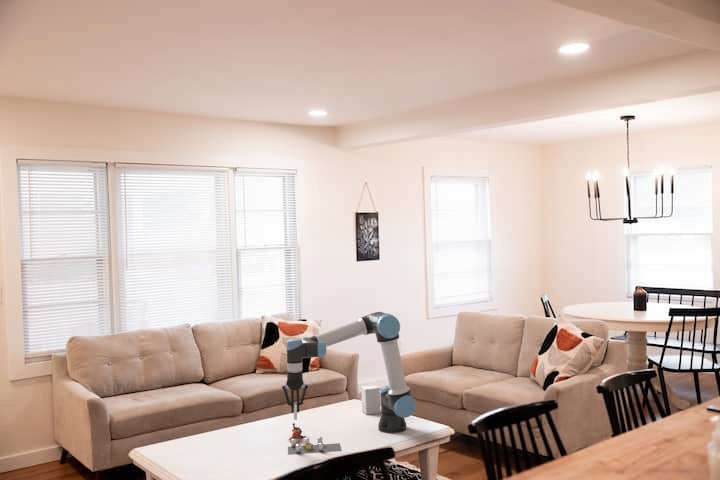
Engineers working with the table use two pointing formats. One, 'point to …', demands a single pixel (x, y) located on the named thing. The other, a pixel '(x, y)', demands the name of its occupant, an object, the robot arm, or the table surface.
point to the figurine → (296, 433)
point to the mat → (317, 449)
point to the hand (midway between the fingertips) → (295, 419)
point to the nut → (308, 446)
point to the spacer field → (306, 440)
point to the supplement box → (370, 399)
